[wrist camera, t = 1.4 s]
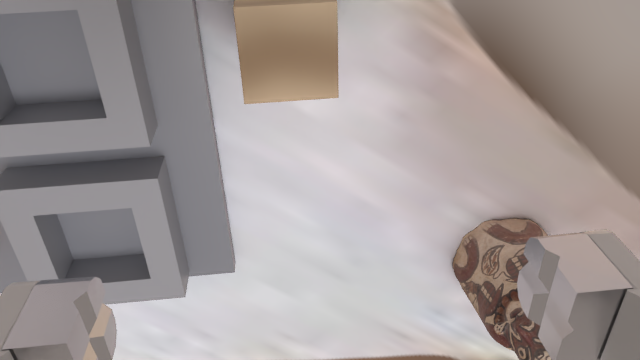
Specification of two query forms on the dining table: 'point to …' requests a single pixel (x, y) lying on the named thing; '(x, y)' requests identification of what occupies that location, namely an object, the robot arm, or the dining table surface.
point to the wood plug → (287, 49)
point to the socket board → (179, 137)
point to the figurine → (500, 282)
